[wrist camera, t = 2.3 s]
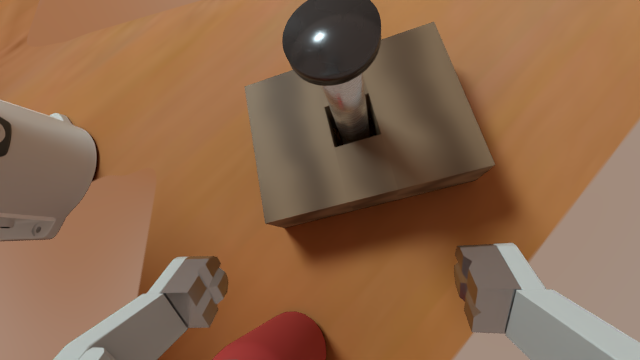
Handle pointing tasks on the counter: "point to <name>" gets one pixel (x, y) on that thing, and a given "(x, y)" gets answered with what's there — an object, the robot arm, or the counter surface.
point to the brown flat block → (371, 153)
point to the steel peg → (336, 56)
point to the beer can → (279, 341)
